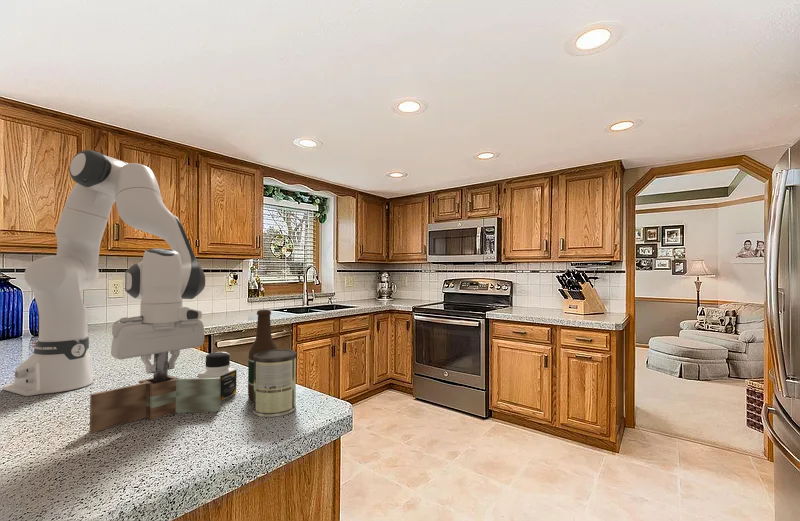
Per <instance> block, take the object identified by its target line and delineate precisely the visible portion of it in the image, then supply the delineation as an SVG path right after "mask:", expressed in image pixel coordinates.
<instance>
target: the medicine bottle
mask: <svg viewBox="0 0 800 521" xmlns="http://www.w3.org/2000/svg"><path fill="white" fill-rule="evenodd" d="M230 363H231V355H230V353H228V352H226V351H214V352H210V353H208V354H206V356H205V370H204V371H201V372H198V374H197V378H221V397H220V402H222V401H224V400H226V399H228V398H230V397H232V396H235V395H236V394H237V368H234V367H233V368H232V367H230V366H231V364H230Z"/></svg>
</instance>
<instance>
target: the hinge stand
mask: <svg viewBox="0 0 800 521" xmlns="http://www.w3.org/2000/svg"><path fill="white" fill-rule="evenodd" d="M89 397H90V399H89V433H91V434H92V433H93V434H94V433H95V432H99V431H102V430H107V429H110V428H113V427H116V426H120V425H124V424H128V423H131V422H135V421H137V420H141V419H145V418H147V419H149V420H151V421H152V420H157V419H159V418H163V417H166V416H169V415H172V414H177V413H178V414H180V413H183V414H184V413H205V412H207V413H208V412H210V413H211V412H220V411H221V401H220V397H221V378H198V377H195V378H194V377H193V378H192V377H191V378H187V377H186V378H180V377H177V376H173V375H169V374H168V381H164V382H159V383H155V384H154V383H153V377H150V378H145V379H142V380H139V381H138V383H136V384H131V385H128V386H127V385H126V386H122V387H118V388H113V389H109V390H103V391H99V392H95V393H91V394H90V395H89Z"/></svg>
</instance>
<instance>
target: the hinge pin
mask: <svg viewBox="0 0 800 521" xmlns="http://www.w3.org/2000/svg"><path fill="white" fill-rule="evenodd" d="M168 361H169V352H163V353H158V354H153V365H156V372H155V373H152V374H153V376H152V378H153V383H154V384H155V383H159V382H164V381H168V375H169V373H168V372H169V370H168Z"/></svg>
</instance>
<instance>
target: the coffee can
mask: <svg viewBox="0 0 800 521" xmlns="http://www.w3.org/2000/svg"><path fill="white" fill-rule="evenodd" d="M297 354H298V353H297V351H295V350H292V349H287V348H286V349H284V348H282V349H280V348H279V349H278V348H277V349H276V350H266V351H261V352H258V353H255V354H254V355H253V358H254V402H253V411H252V412H253V414H254V415H255V416H256V417H261V418H276V417H275V416H277V417H282V416H286V415H289V414H291V413H292V412H294V411H295V410H296V408H297V406H296V400H297V399H296V397H297V396H296V394H297V393H296V392H297V389H296V388H297V386H296V384H297V383H296V382H297V381H296V379H297V378H296V377H297V373H296V372H297Z"/></svg>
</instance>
